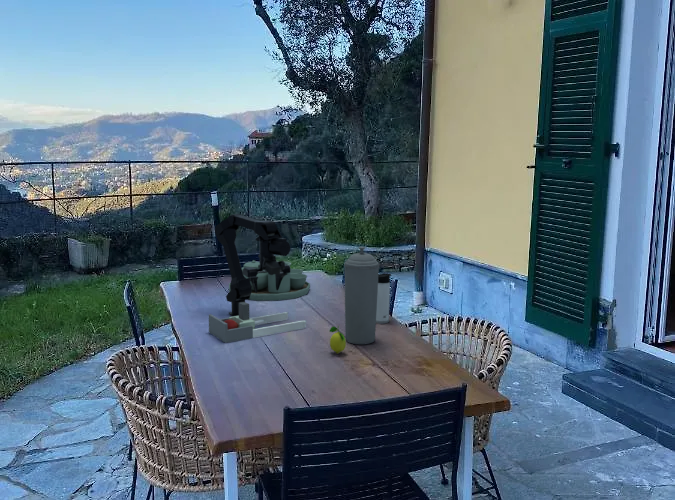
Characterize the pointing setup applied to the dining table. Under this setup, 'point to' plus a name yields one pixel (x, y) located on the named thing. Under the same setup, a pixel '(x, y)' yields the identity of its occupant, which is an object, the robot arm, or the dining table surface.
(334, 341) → the lemon
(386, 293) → the travel mug
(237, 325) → the onion
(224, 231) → the robot arm
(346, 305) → the canister
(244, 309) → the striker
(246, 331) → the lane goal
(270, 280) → the tea set
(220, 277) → the dining table surface
